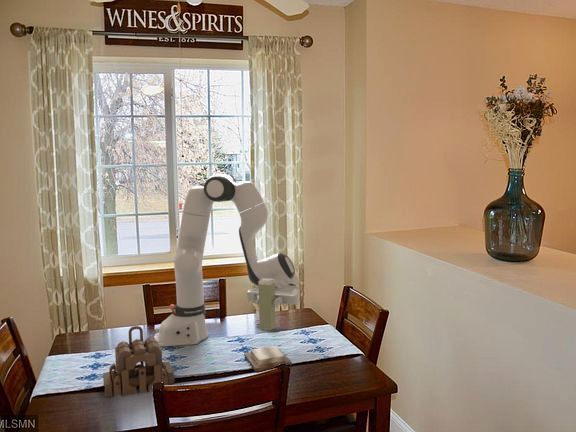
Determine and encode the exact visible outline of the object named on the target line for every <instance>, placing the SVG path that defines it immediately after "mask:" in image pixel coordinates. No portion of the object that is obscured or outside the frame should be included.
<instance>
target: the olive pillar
mask: <svg viewBox="0 0 576 432" xmlns="http://www.w3.org/2000/svg"><path fill="white" fill-rule="evenodd" d="M274 282H275V279H266V278H263V279H261V280H260V281H258V284H259V286H258V287H259V303H258V310H259V315H258V317H259V321H260V323H259V330H264V331H272V330H273V329H274V328H275V327H276V306H275V305H272V300H273V299H275V285H274Z"/></svg>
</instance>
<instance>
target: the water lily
mask: <svg viewBox="0 0 576 432" xmlns="http://www.w3.org/2000/svg"><path fill="white" fill-rule="evenodd" d="M276 306H277V305H275V307H276ZM255 312H256V314H257V315H258V316H256V317H255V318H254V319H255V321H254V323H253V325H258V324H259V325H260V321H259V309H256V310H255Z"/></svg>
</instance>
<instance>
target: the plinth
mask: <svg viewBox="0 0 576 432" xmlns="http://www.w3.org/2000/svg"><path fill="white" fill-rule="evenodd" d="M244 356H245V357H244ZM243 357H244V358H245V359H247V360H248V361H247V360H246V361H247V362H248V364H249V363H250V364H249V365H250V367H251V366H252V367H251V368H252V369H253V371H254V372H261V371H267V370H271V368H273V369H275V368H274V367H276V366H278V365H279V364H283V363H284V364H287V365H290V366H292V365H293V362H292V360H290V359H289V357H287V355H286V354H285V353H284V352H283V351H282V350H281V349H280V348H279V347H277V346H276V345H272V346H265V347H259V348H251V349H250V352H246V353H244V354H243Z"/></svg>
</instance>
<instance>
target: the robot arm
mask: <svg viewBox="0 0 576 432" xmlns="http://www.w3.org/2000/svg"><path fill="white" fill-rule="evenodd" d="M230 201H231V202H233V204H234V206H235V207H236V210H237V212H238V213H239V216H240V226H239V227H238V235H239V236H238V237H239V240H240V244H241V248H242V252H243V256H244V259H245V264H246V269H247V271H246V272H247V276H248V280H249V281H250V282H251V283H252V284H253V285H255V286H256V287H252V288H250V289H248V290H247V292H246V299H247V301H249V302H256V304H259V284H258V281H260V280H261V279H263V278H266V279H275V282H274V285H275V299H273V300H272V305H276V306H277V305H279V304H283V305H291V306H294V305H298V304H299V303H300V300H301V299H300V298H301V289H300V280H299V277H298V275H297V274H296V273H295V271H296V270H295V266H294V264H293V262H292V260H291V258H290V257H289V256H287V255H286V254H284V253H282V252H278V253H275V254H272V255H271V256H268V257H266V258H263V259H259V258H258V256H257V252H256V248H255V245H254V238H255V236H256V235H257V233H259V231H260V230H261V229H262V228H263V227H264V226H265V224H266V223H267V221H268V218H269V212H268V208H267V206H266V203H265V202H264V199H263V197H262V195H261V193H260V192H259V190H258V188H257V187H256V185H255V184H254V183H253V182H252V181H247V180H245V181H241V182H239V183H237V181H236V179H235V178H234V177H233V176H232V175H229V174H225V173H218V174H217V173H216V174H215V175H211V176H210V177H208V178H207V179H206V180H205V182H204V184H203V186H198V185H197V186H193V187H191V188H189V190H188V192H187V195H186V197H185V201H184V205H183V208H182V215H181V221H180V226H179V227H180V228H179V234H178V235H179V236H178V243H177V250H176V253H175V256H174V259H173V265H174V266H173V267H174V277H175V278H174V279H175V288H176V289H175V290H176V292H175V293H176V304H174V303H172V304H170V305H169V308H170V310H171V314H170V315H169V316H167V318H166V319H164V320H163V321H162V322H161V323H160V326H159V331H158V332H156V333H155V334H154V336H153V338H155V340H156V341H157V342H158V344H159V346H160V348H161V347H174V346H187V345H188V346H189V345H197V344H199V343H200V342H201V341H203V340H205V339H207V338H208V337H209V331H208V328H207V323H206V305H205V301H204V299H205V298H204V281H203V278H204V277H203V259H204V251H205V245H206V240H207V233H208V228H209V222H210V218H211V217H210V216H211V210H212V207H213V205H214V203H221V202H230Z"/></svg>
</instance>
